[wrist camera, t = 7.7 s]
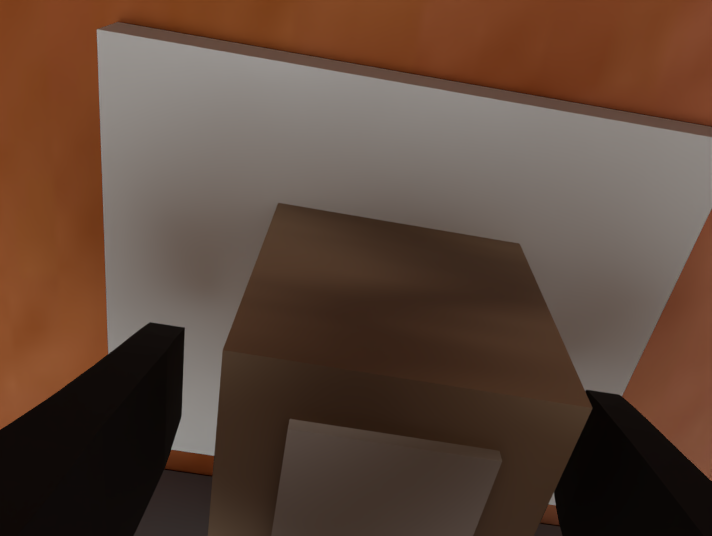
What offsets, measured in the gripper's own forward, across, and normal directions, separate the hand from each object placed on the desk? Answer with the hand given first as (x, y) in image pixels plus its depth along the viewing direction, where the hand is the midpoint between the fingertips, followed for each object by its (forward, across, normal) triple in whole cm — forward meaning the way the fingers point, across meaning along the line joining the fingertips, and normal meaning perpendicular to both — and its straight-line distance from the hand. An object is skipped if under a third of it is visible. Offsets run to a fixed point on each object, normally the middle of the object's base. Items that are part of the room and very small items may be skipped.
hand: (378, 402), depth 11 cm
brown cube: (+3, 0, 0) cm, 3 cm away
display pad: (+4, 0, 0) cm, 4 cm away
